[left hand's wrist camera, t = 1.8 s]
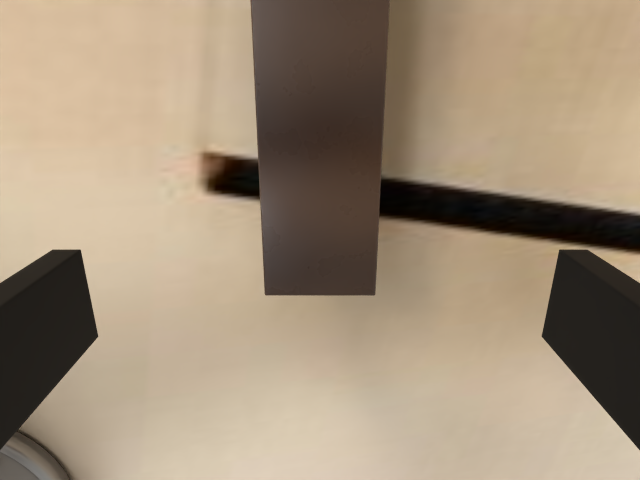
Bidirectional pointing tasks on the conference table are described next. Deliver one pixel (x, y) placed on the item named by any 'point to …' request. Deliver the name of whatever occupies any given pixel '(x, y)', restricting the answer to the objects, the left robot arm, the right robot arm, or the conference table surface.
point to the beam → (320, 141)
